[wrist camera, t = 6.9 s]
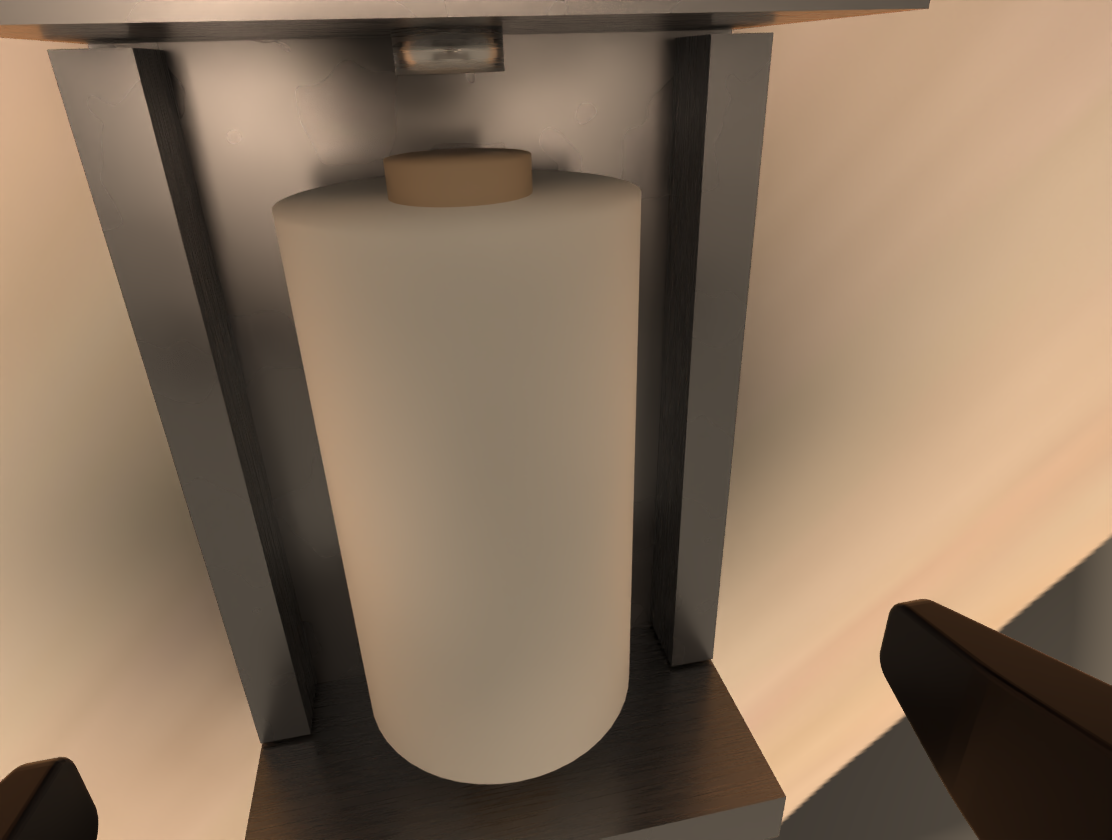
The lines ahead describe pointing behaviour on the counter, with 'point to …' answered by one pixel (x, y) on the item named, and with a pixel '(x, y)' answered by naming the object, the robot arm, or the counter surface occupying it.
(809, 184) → the counter surface
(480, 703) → the roll
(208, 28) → the holder
